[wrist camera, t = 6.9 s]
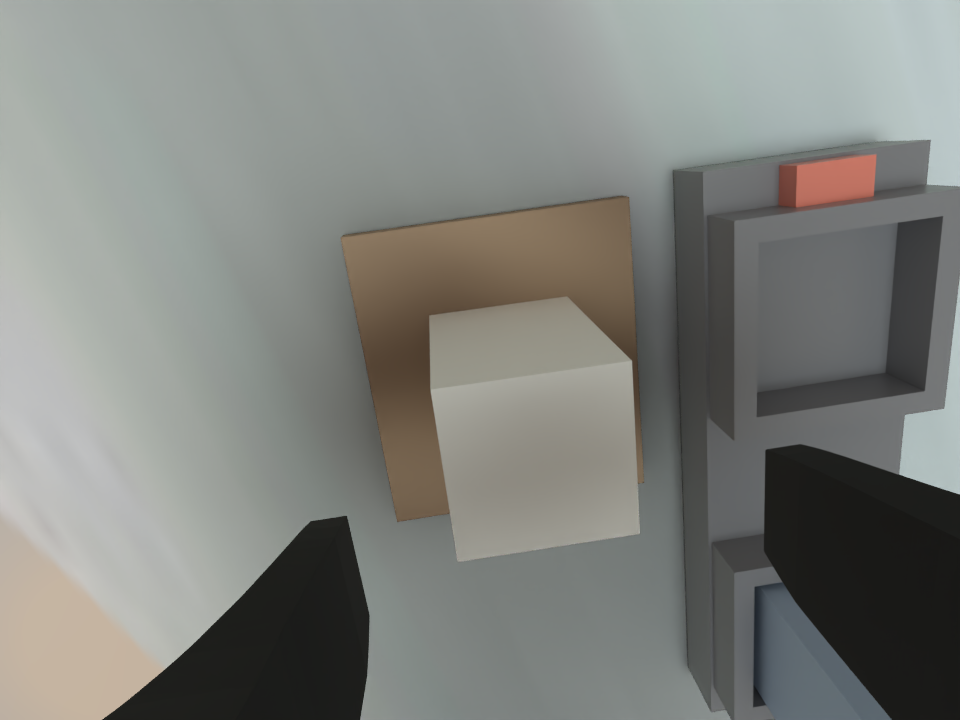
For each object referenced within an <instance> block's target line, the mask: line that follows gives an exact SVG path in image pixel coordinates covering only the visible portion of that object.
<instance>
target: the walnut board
mask: <svg viewBox="0 0 960 720" xmlns="http://www.w3.org/2000/svg"><path fill="white" fill-rule="evenodd" d="M341 242H342V247H343V252H344V257H345V262H346V267H347V272H348V277H349V282H350V287H351V292H352V297H353V302H354V307H355V312H356V317H357V322H358V327H359V332H360V337H361V342H362V347H363V352H364V357H365V362H366V367H367V372H368V377H369V382H370V387H371V392H372V397H373V402H374V408H375V413H376V418H377V423H378V428H379V433H380V438H381V443H382V448H383V453H384V458H385V463H386V468H387V473H388V478H389V483H390V488H391V493H392V498H393V503H394V508H395V513H396V518H397V522H399V521H406V520H412V519H418V518H424V517H431V516H437V515H443V514H450V510H449V504H448V498H447V491H446V485H445V479H444V472H443V466H442V460H441V453H440V447H439V441H438V434H437V428H436V422H435V415H434V409H433V403H432V396H431V390H430V330H429V315H436V314H443V313H450V312H458V311H465V310H472V309H479V308H486V307H494V306H501V305H508V304H515V303H523V302H530V301H537V300H544V299H551V298H559V297H566V296H567V297H568V298H569V299H570V300H571V301H572V302H573V303H574V304H575V305H576V306H577V307H578V308H579V309H580V310H581V311H582V312H583V313H584V314H585V315H586V316H587V317H588V318H589V319H590V320H591V321H592V322H593V323H594V324H595V325H596V326H597V327H598V328H599V329H600V330H601V331H602V332H603V333H604V334H605V335H606V336H607V337H608V338H609V339H610V340H611V341H612V342H613V343H614V344H616V345H617V346H618V347H619V348H620V349H621V350H622V351H623V352H624V353H625V354H626V355H627V356H628V357H629V358H630V359H631V360H632V372H633V393H634V415H635V436H636V458H637V479H638V484H639V483H644V474H643V454H642V435H641V416H640V397H639V378H638V359H637V340H636V321H635V302H634V283H633V263H632V244H631V225H630V206H629V197H626V196H617V197H610V198H603V199H596V200H589V201H582V202H575V203H568V204H560V205H553V206H546V207H539V208H532V209H525V210H518V211H511V212H504V213H497V214H490V215H483V216H476V217H469V218H462V219H454V220H447V221H440V222H433V223H426V224H419V225H412V226H405V227H398V228H391V229H384V230H377V231H370V232H363V233H355V234H348V235H343V236H342V237H341Z"/></svg>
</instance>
